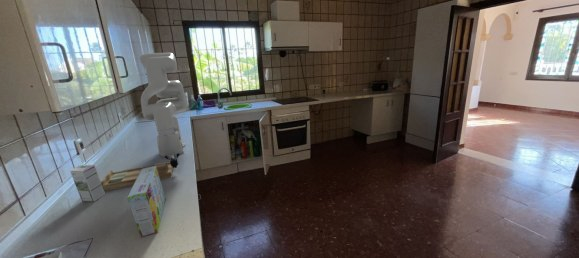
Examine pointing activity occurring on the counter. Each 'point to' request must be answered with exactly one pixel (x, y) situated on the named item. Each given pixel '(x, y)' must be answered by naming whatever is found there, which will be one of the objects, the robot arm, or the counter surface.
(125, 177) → the tray
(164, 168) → the block
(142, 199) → the snack box
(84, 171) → the syrup box
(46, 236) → the counter surface
